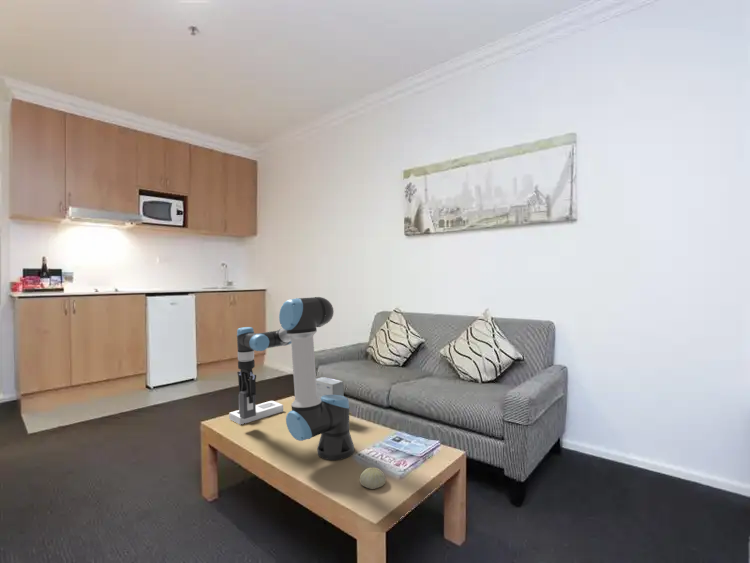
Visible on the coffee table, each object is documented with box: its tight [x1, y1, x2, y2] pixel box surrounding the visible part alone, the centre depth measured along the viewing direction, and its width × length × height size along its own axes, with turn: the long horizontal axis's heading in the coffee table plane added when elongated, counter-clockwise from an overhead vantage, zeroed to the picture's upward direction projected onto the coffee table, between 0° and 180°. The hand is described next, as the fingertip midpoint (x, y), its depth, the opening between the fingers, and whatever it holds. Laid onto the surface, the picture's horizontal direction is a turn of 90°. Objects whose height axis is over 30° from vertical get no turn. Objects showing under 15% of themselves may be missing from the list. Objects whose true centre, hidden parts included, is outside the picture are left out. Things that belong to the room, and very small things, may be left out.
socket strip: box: [228, 399, 284, 426], centre depth 207 cm, size 11×25×12 cm, turn 137°
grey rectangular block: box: [238, 390, 257, 419], centre depth 188 cm, size 4×6×12 cm, turn 137°
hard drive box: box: [316, 376, 345, 399], centre depth 199 cm, size 16×8×20 cm, turn 49°
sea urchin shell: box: [359, 467, 386, 490], centre depth 139 cm, size 9×8×8 cm
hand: (247, 408), depth 188 cm, fingers closed on grey rectangular block, 4 cm apart
